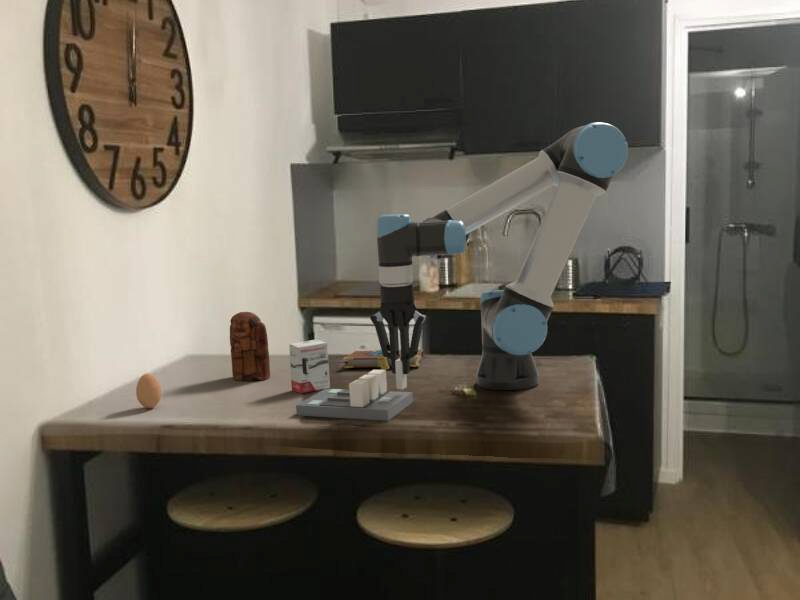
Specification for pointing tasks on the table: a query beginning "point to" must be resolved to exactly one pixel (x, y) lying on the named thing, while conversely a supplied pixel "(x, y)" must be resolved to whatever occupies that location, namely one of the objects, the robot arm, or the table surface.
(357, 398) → the tab
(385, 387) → the tab
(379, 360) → the book
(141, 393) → the egg
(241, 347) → the wooden figurine
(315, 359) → the ink box
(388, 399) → the switch bank
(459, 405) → the table surface
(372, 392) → the tab
